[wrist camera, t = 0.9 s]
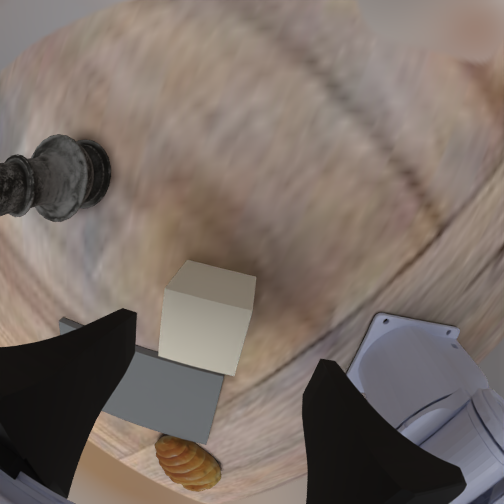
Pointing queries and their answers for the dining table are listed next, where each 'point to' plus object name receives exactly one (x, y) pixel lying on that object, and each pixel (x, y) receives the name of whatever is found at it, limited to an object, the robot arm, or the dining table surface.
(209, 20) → the dining table surface
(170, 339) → the block
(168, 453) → the pastry
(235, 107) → the dining table surface
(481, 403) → the robot arm
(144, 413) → the board
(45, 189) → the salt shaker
